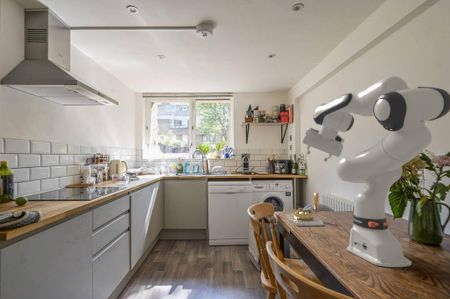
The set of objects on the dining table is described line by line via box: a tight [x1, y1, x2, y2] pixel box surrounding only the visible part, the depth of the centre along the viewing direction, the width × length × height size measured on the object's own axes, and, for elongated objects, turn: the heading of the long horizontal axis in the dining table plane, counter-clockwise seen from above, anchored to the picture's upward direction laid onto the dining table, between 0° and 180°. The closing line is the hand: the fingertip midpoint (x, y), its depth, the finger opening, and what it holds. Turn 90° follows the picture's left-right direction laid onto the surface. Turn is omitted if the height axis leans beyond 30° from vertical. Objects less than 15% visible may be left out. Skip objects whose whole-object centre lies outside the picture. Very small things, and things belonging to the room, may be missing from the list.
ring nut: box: [292, 192, 320, 220], centre depth 144 cm, size 12×15×14 cm
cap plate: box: [285, 213, 324, 227], centre depth 144 cm, size 20×15×2 cm
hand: (316, 157), depth 129 cm, fingers open, 8 cm apart
